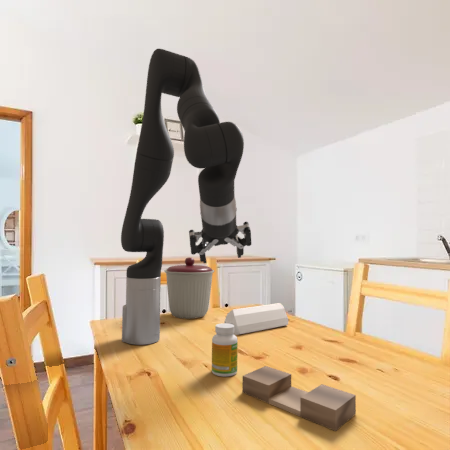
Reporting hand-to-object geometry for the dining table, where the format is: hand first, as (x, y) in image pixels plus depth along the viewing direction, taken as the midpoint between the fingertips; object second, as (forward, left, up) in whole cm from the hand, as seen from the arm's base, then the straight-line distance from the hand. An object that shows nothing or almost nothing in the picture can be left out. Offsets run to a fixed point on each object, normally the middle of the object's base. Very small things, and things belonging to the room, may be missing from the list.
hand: (221, 257), depth 85 cm
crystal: (+5, +27, -24) cm, 36 cm away
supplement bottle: (+4, -11, -24) cm, 26 cm away
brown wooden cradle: (+19, -21, -23) cm, 36 cm away
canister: (-21, +37, -24) cm, 49 cm away
